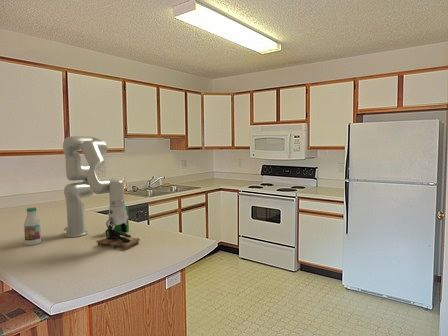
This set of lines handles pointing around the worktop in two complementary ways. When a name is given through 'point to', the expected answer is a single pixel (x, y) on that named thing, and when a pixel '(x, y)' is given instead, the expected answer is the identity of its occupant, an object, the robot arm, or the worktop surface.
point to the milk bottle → (32, 228)
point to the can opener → (118, 235)
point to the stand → (118, 242)
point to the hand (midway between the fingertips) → (118, 234)
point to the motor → (118, 227)
